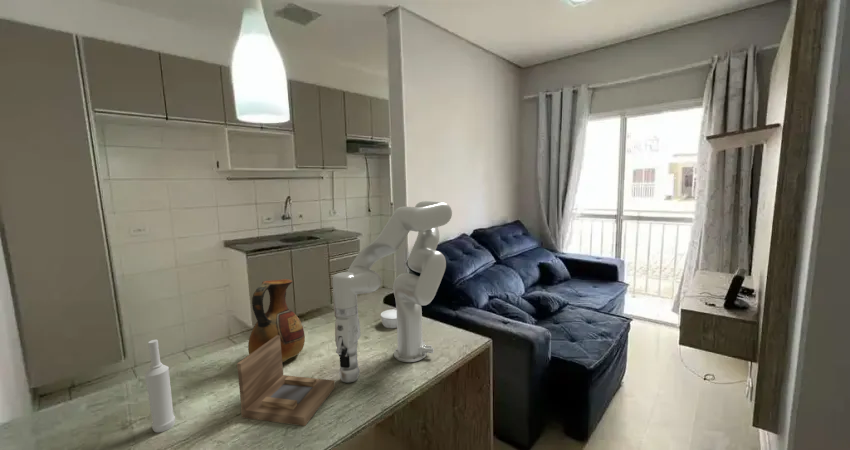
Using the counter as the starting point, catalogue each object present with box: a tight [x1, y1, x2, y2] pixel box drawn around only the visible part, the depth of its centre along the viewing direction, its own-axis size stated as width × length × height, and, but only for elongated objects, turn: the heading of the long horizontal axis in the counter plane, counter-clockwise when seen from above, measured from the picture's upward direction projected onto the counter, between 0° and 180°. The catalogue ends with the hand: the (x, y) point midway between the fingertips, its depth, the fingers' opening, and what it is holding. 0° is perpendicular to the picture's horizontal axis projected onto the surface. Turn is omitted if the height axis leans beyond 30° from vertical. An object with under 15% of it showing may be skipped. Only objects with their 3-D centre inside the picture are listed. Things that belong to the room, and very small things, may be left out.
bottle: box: [144, 339, 176, 433], centre depth 94 cm, size 5×5×25 cm
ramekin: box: [380, 308, 397, 329], centre depth 161 cm, size 11×11×5 cm
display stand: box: [236, 335, 336, 427], centre depth 104 cm, size 20×18×16 cm
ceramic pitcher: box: [247, 278, 306, 363], centre depth 131 cm, size 20×20×30 cm
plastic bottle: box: [338, 334, 361, 384], centre depth 115 cm, size 6×7×20 cm
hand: (348, 361), depth 116 cm, fingers closed on plastic bottle, 5 cm apart
